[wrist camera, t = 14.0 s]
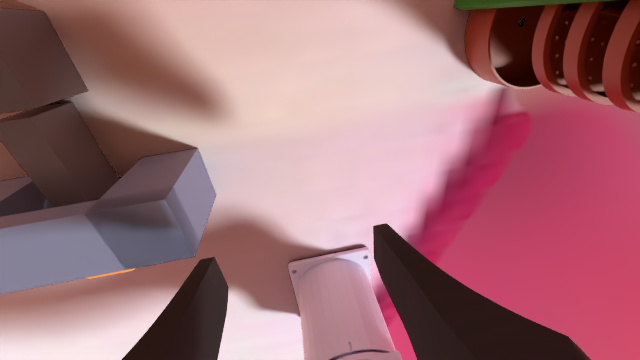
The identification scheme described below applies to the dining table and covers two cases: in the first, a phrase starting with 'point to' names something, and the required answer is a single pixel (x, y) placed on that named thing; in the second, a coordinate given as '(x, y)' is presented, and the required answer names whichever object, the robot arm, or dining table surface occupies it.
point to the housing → (105, 224)
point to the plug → (47, 113)
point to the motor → (558, 47)
